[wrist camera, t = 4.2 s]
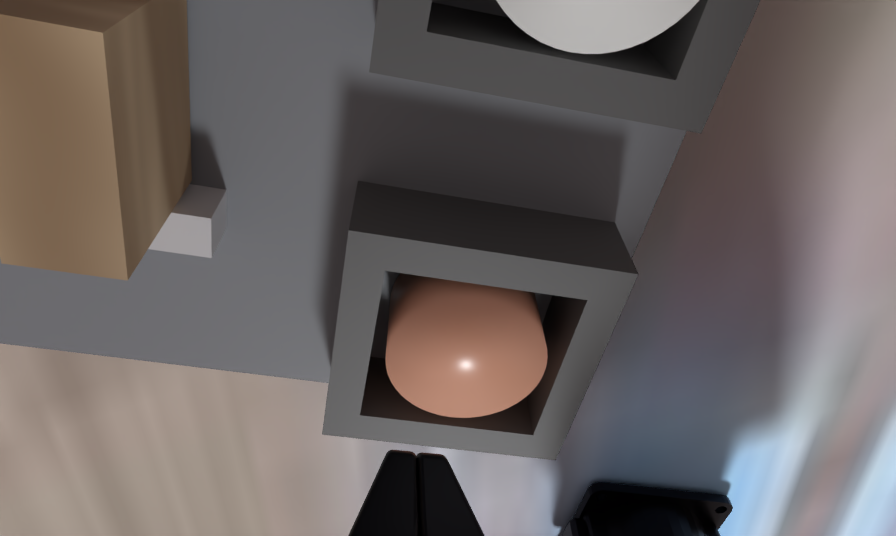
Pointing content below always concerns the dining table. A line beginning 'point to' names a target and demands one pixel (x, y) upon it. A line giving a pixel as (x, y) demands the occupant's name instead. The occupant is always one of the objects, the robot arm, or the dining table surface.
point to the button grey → (595, 21)
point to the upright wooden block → (91, 131)
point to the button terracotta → (463, 345)
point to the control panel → (395, 200)
